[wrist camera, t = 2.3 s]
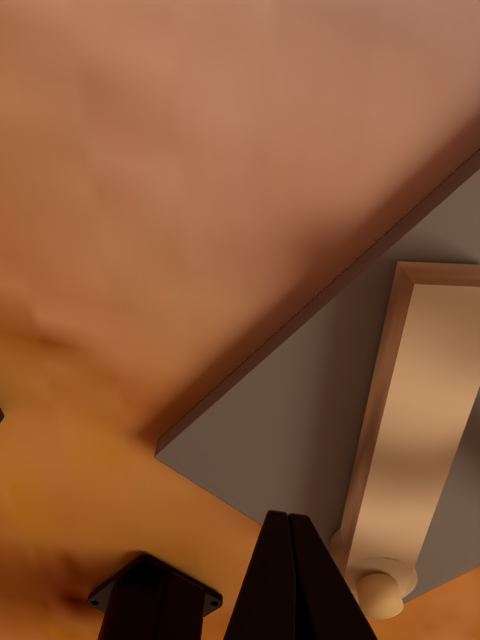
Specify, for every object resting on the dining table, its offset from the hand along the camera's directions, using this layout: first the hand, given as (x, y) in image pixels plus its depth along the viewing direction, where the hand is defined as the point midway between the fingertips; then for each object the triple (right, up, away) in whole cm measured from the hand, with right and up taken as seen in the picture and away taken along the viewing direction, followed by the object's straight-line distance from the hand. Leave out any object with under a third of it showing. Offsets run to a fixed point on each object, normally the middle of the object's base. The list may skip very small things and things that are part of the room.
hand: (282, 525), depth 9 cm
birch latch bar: (+6, -2, +12) cm, 13 cm away
